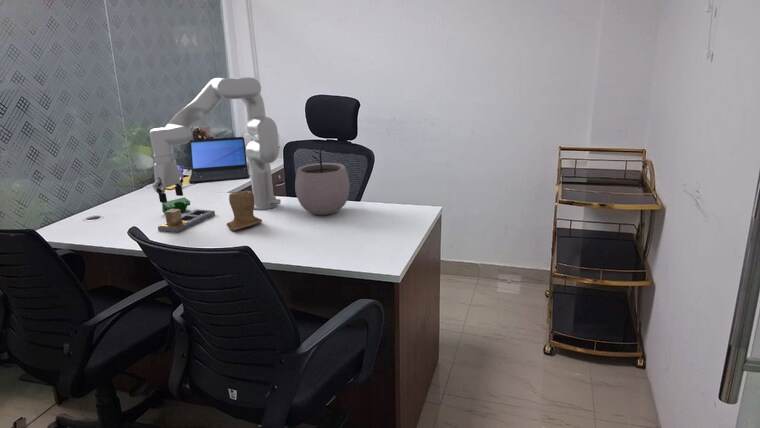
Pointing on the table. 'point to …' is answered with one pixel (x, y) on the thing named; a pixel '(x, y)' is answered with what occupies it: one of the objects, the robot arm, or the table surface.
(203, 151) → the laptop
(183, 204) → the green toy truck
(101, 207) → the table surface
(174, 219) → the peg
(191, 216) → the grey slotted board
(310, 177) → the plant pot
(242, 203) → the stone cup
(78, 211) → the table surface
